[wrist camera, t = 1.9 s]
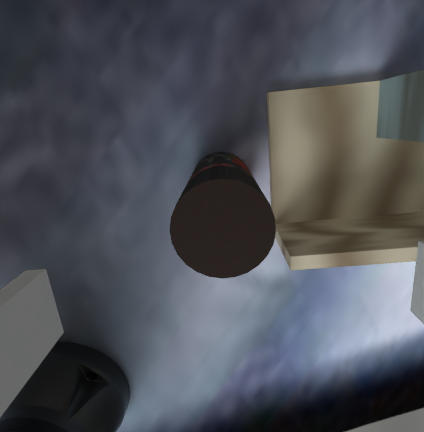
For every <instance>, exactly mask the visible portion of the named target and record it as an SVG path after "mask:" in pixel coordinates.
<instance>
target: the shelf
mask: <svg viewBox="0 0 424 432" xmlns="http://www.w3.org/2000/svg"><path fill="white" fill-rule="evenodd" d="M267 115H268V140H269V166H270V191H271V209H272V211H273V214H274V217H275V224H276V234H275V239H276V241H277V243H278V245H279V247H280V249H281V251H282V253H283V255H284V257H285V259H286V261H287V264H288V266H289V268H290V270H302V269H316V268H329V267H343V266H356V265H370V264H384V263H397V262H411V261H416V259H417V250H418V242H419V241H424V69H422V70H419V71H415V72H411V73H407V74H403V75H399V76H396V77H392V78H388V79H384V80H380V81H371V82H362V83H352V84H343V85H333V86H324V87H314V88H304V89H295V90H285V91H276V92H268V93H267Z"/></svg>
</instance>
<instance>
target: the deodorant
mask: <svg viewBox="0 0 424 432" xmlns="http://www.w3.org/2000/svg"><path fill="white" fill-rule="evenodd" d="M170 234H171V240H172V244H173V246H174V248H175V250H176V252H177V254H178V256H179V257H180V258H181V259H182V260H183V261H184V263H185V264H186V265H188V266H189V267H191V268H192V269H193V270H195V271H196V272H199V273H201V274H204V275H206V276H209V277H217V278H229V277H236V276H239V275H242V274H245V273H248V272H249V271H251V270H252V269H254V268H255V267H257V266H258V265H259V264H260V263H261V262H262V261H263V260H264V259H265V258H266V257H267V255H268V253H269V251H270V250H271V248H272V246H273V243H274V239H275V234H276V224H275V217H274V214H273V211H272V209H271V206H270V204H269V202H268V201H267V199H266V198H265V196H264V194H263V193H262V191H261V189H260V188H259V186H258V184H257V183H256V181H255V179H254V178H253V176H252V174H251V173H250V171H249V170H248V168H247V166H246V165H245V164H244V162H243V161H242V160H241V159H240V158H238V157H237V156H235V155H233V154H231V153H226V152H218V153H213V154H210V155H208V156H206V157H205V158H204V159H202V160H201V161H200V163H199V164H198V165H197V166H196V168H195V170H194V172H193V174H192V176H191V178H190V180H189V181H188V183H187V185H186V187H185V189H184V191H183V193H182V195H181V197H180V198H179V200H178V202H177V204H176V206H175V209H174V211H173V214H172V216H171V223H170Z"/></svg>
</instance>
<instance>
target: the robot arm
mask: <svg viewBox="0 0 424 432" xmlns="http://www.w3.org/2000/svg"><path fill="white" fill-rule="evenodd" d="M410 311H411V312H412V313H413V314H414V315H415V316H416V317H417V318H418V319H419V320H420V321H421V322H422V323H423V324H424V241H419V242H418V250H417V259H416V267H415V276H414V284H413V293H412V302H411V310H410ZM63 333H64V330H63V327H62V323H61V320H60V317H59V313H58V310H57V306H56V303H55V299H54V296H53V292H52V289H51V285H50V282H49V278H48V275H47V271H46V269H37V270H25V271H24V272H23V273H21V274H20V275H19V276H18V277H16V278H15V279H14V280H12V281H11V282H10V283H8V284H7V285H6V286H4V287H3V288H2V289H0V432H116V431H117V430H118V428H119V427H120V425H121V423H122V421H123V418H124V415H125V412H126V409H127V406H128V402H129V388H128V384H127V381H126V379H125V377H124V375H123V373H122V372H121V370H120V369H119V368H118V367H117V366H116V365H115V364H114V363H113V362H112V361H111V360H110V359H109V358H107V357H106V356H104V355H103V354H101V353H99V352H98V351H96V350H93V349H91V348H88V347H86V346H82V345H78V344H72V343H56V342H57V341H58V340H59V338H60V337H61V336H62V334H63Z"/></svg>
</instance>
